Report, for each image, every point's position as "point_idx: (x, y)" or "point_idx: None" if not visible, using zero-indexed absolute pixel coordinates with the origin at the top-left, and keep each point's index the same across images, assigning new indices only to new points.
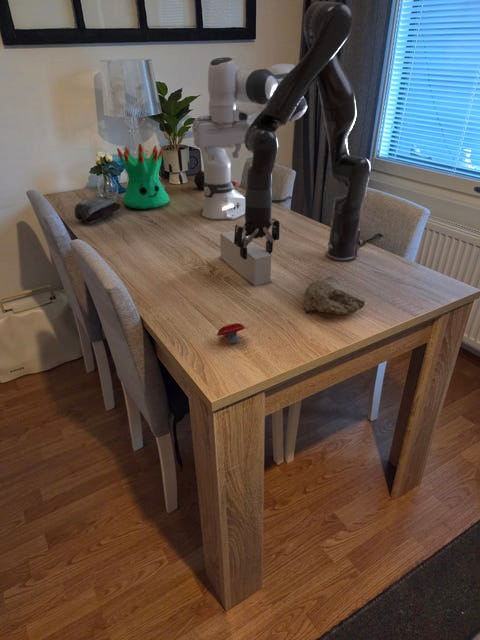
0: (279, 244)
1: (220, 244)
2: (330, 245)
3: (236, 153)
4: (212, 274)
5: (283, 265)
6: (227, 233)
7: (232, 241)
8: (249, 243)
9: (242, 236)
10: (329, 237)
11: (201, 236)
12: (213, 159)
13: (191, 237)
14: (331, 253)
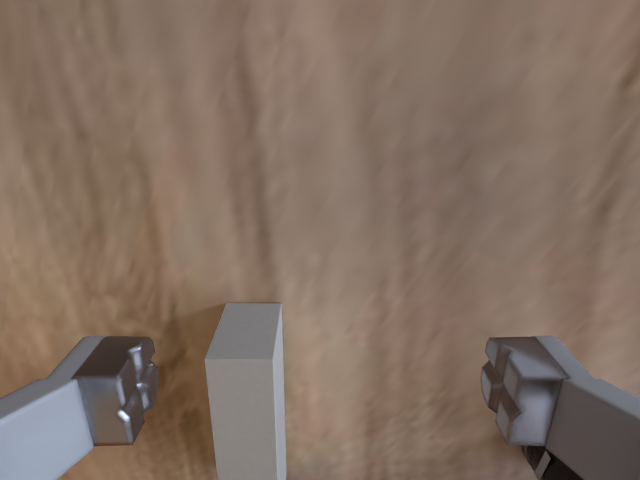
0: (471, 294)
1: (215, 331)
2: (542, 468)
3: (532, 435)
4: (160, 384)
5: (375, 419)
6: (229, 375)
7: (214, 440)
8: (262, 473)
9: (269, 418)
10: (566, 469)
11: (236, 70)
12: (146, 399)
13: (188, 59)
14: (530, 454)
